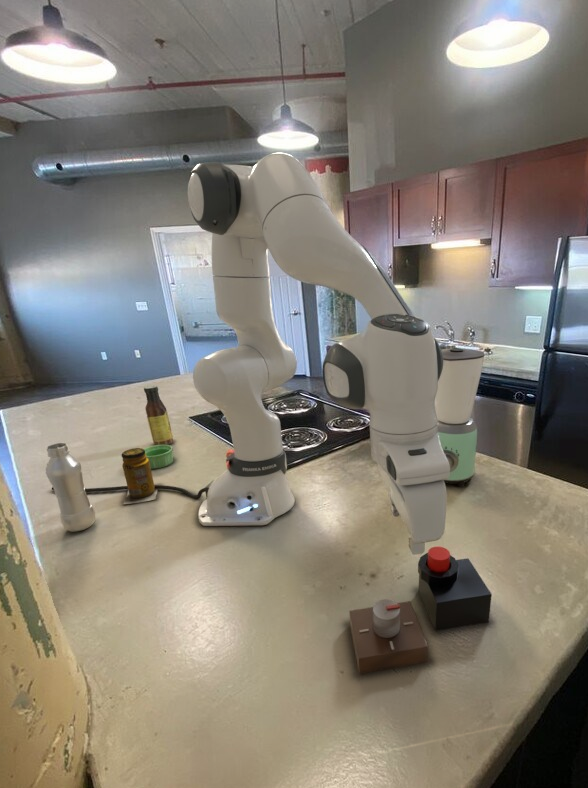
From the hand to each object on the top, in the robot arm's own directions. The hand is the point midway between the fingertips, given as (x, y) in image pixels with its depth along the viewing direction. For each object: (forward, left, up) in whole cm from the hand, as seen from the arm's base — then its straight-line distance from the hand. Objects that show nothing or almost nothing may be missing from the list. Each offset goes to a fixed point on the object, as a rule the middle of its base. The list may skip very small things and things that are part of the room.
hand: (406, 531), depth 60 cm
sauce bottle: (-60, +93, -18) cm, 112 cm away
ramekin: (-57, +76, -18) cm, 96 cm away
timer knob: (-4, -2, -15) cm, 16 cm away
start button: (+7, +5, -11) cm, 14 cm away
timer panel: (-4, -2, -18) cm, 19 cm away
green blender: (+26, +49, -18) cm, 58 cm away
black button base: (+9, +3, -18) cm, 20 cm away
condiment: (-56, +56, -18) cm, 81 cm away
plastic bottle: (-65, +43, -18) cm, 80 cm away
